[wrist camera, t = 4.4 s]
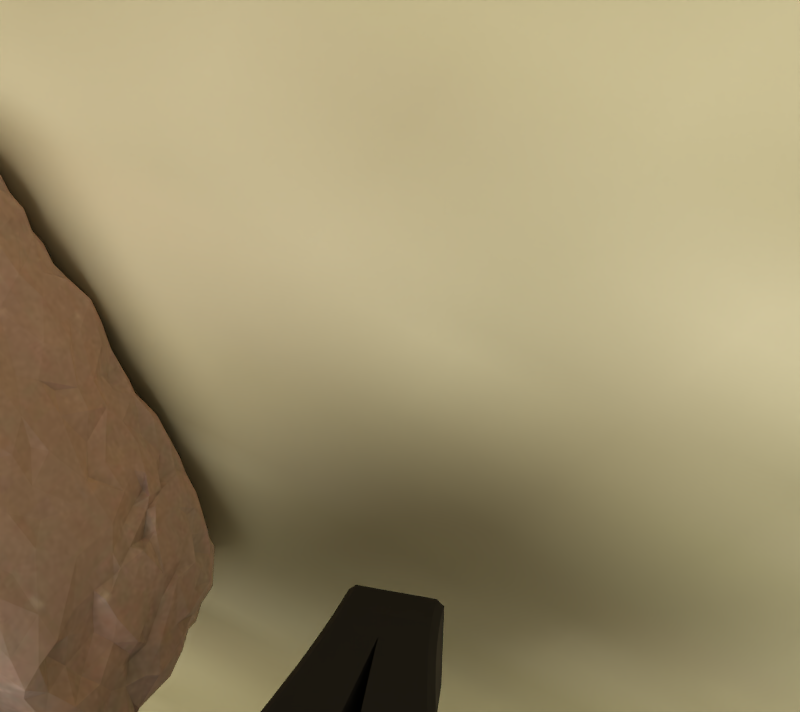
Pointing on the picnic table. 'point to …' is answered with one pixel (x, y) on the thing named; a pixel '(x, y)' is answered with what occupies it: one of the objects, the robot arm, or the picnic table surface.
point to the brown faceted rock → (84, 504)
